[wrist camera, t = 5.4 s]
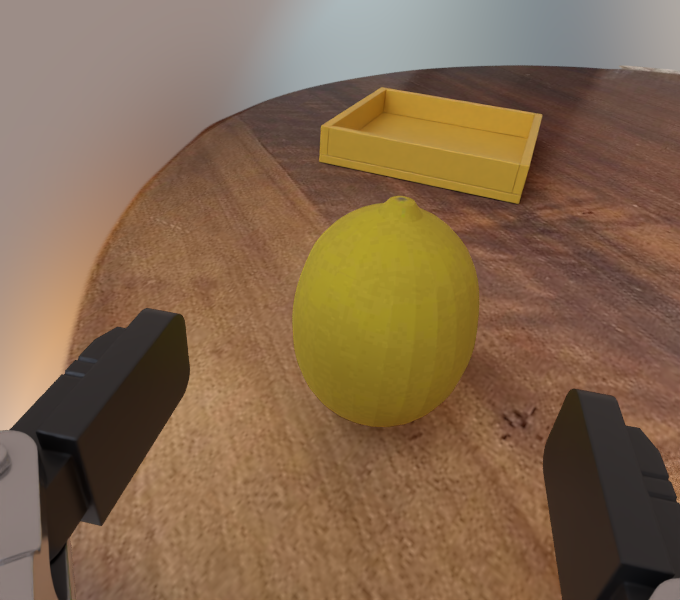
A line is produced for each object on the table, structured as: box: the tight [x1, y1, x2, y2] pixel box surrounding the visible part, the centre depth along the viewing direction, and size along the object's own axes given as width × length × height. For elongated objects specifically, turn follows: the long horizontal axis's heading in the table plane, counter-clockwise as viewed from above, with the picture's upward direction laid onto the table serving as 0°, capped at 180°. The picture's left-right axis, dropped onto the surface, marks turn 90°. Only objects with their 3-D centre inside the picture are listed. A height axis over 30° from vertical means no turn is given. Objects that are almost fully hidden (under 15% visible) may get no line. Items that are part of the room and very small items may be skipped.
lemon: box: [292, 196, 479, 427], centre depth 16 cm, size 6×6×8 cm
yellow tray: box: [319, 87, 542, 204], centre depth 42 cm, size 14×14×3 cm
